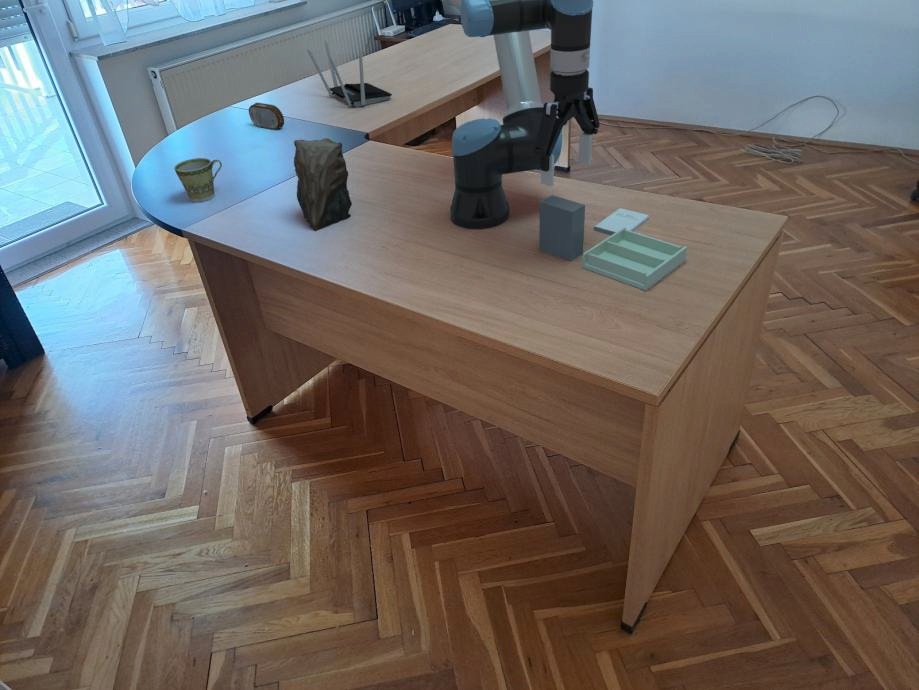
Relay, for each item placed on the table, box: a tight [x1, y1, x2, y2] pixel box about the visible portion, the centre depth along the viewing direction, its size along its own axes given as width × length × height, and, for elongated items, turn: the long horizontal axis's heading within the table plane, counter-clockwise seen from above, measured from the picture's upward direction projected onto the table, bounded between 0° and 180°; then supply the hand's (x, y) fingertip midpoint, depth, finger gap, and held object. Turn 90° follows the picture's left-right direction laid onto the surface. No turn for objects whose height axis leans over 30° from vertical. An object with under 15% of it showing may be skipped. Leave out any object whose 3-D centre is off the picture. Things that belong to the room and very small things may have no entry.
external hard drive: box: [593, 207, 650, 236], centre depth 166 cm, size 2×8×12 cm
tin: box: [248, 102, 285, 131], centre depth 244 cm, size 15×3×8 cm, turn 58°
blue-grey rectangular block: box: [538, 194, 586, 262], centre depth 153 cm, size 9×4×12 cm, turn 46°
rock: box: [293, 137, 353, 232], centre depth 175 cm, size 13×13×20 cm
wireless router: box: [306, 39, 393, 108], centre depth 263 cm, size 34×23×20 cm
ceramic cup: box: [173, 157, 223, 203], centre depth 195 cm, size 13×10×10 cm
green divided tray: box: [581, 227, 688, 291], centre depth 149 cm, size 16×16×3 cm
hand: (566, 173), depth 146 cm, fingers open, 13 cm apart
